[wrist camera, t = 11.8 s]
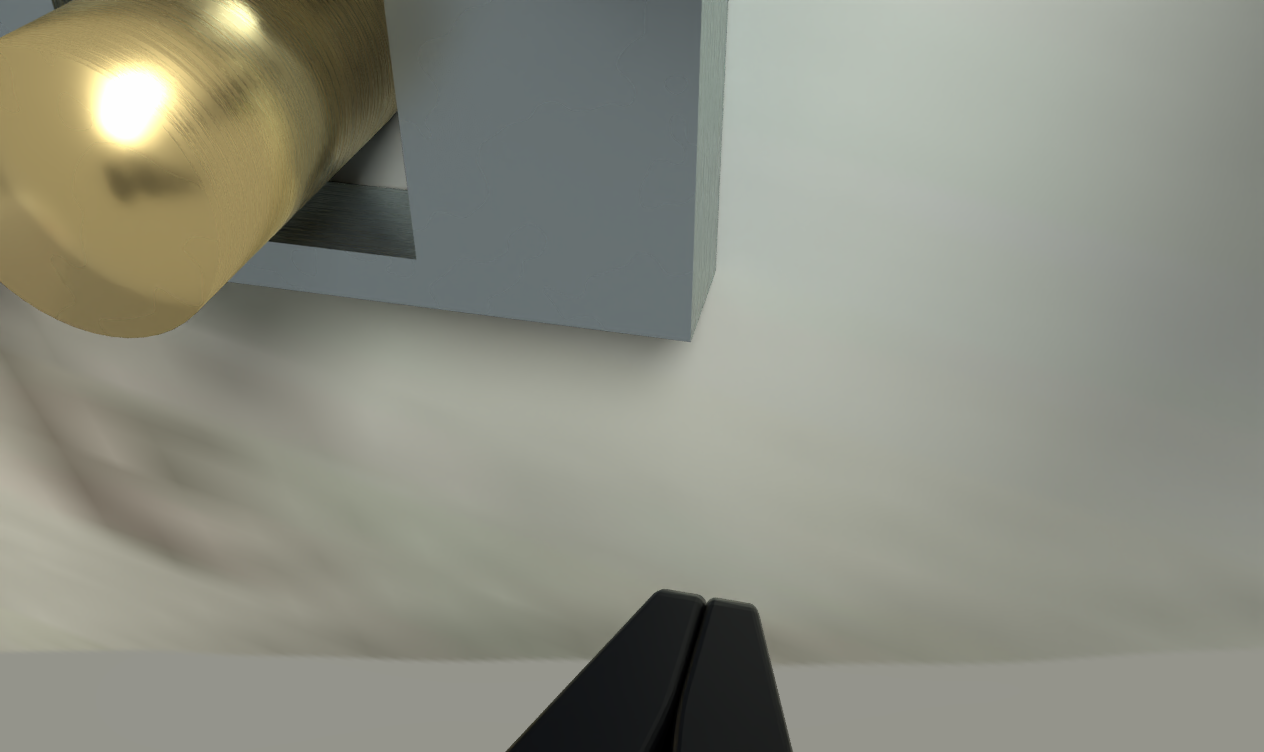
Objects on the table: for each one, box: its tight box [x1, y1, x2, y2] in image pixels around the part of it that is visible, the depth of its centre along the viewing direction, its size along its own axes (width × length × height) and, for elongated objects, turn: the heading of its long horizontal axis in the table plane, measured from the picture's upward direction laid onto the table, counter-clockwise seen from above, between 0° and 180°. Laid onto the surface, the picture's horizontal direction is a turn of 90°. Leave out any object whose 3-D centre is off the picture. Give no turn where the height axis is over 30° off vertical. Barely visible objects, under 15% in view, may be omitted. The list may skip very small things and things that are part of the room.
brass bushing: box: [0, 0, 397, 338], centre depth 19 cm, size 4×4×7 cm
